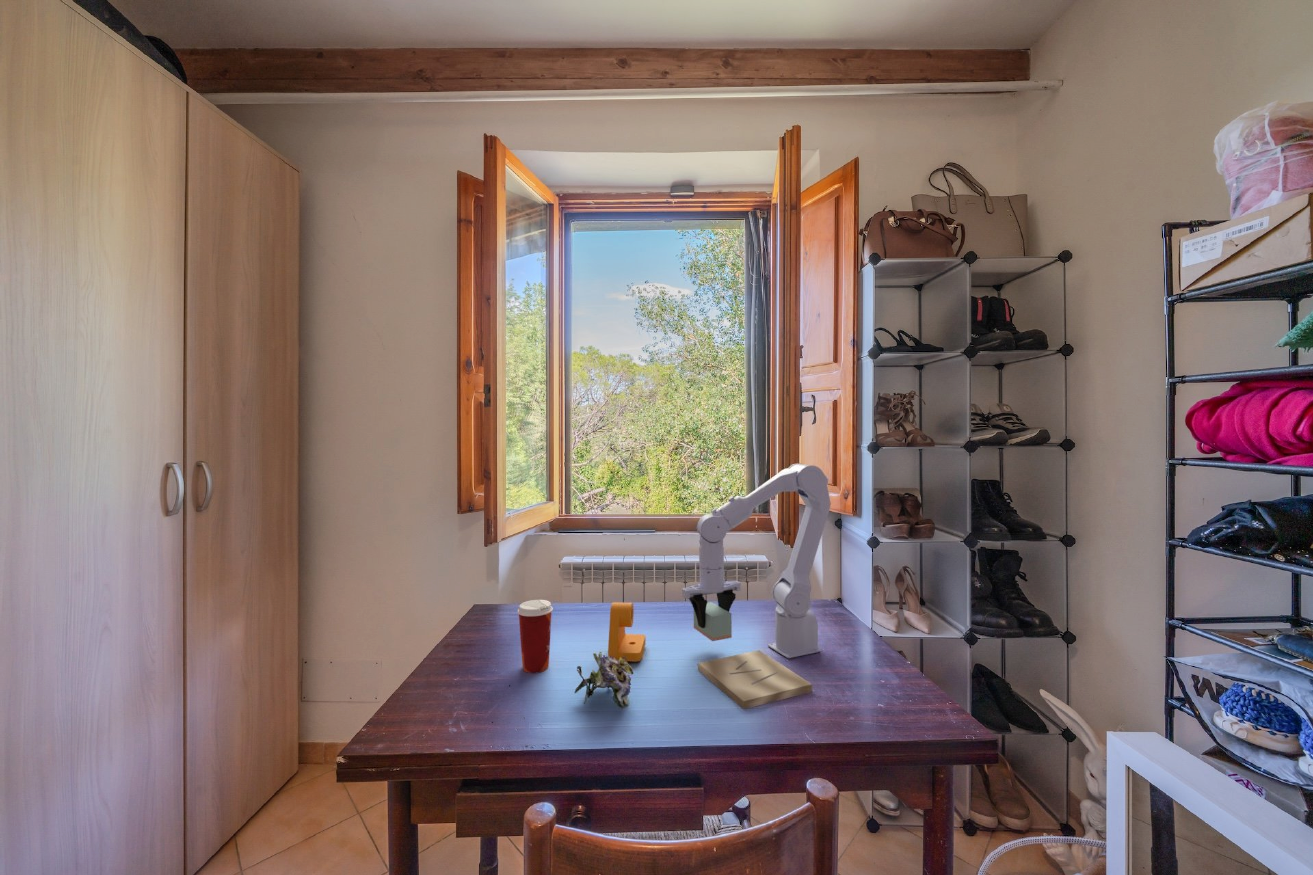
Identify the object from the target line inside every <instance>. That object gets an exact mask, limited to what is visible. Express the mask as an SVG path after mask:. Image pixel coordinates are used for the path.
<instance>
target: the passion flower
mask: <svg viewBox="0 0 1313 875" xmlns="http://www.w3.org/2000/svg"><path fill="white" fill-rule="evenodd" d="M602 653H603V651H599V652H598V654H597V653H596V652H593V654H592V655H593V658H594V661H595V662H596V664H597V666H598V670H597V672H596V670H594V669H593V670H592V671H590V675H589V677H588V678H584V677H583V675H582V666H581V665H578V666H576V671H577V673H578V674H579V676H580V678H582V681H581V682H580V683H579V684H578V686H577V687H576V688H575V690H574V694H577V693H578V692H579V691H580V690H581V689H582V688H584V687H585V686H586V687H585V688H586V690H585V696H584V701H583V705H585V704H586V702H587V700H588V699H589V698H590V697H591V696H593V694H594V692H595V690H597V689H598V688H599V689H608V690H609V688H611V690H612V693H613V694H612V701H613V703H614V704H615V705H617V706H618V707H620V708H621V709H623V708H624V706H626V707H628V706H629V704H630V701H629V698H628V696H629V695H630V693H631V685H632V683H631V681H632V678H631V675H634V671H633V667H632V666H631V665H630V664H629V663H628V661H626V658H625V656H623V659H622V658H620V659H619V661H617V660H616V659H615V658H611V655H610V656H608V655H605V654H602ZM608 657H609V658H608ZM630 674H631V675H630Z"/></svg>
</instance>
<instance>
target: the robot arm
mask: <svg viewBox="0 0 1313 875" xmlns="http://www.w3.org/2000/svg"><path fill="white" fill-rule="evenodd" d="M825 474H826V473H824V472H823V470H822V468H820V467H818V466H816V465H811V464H810V465H808V464H803V463H800V462H797V463H794V464H793V463H792V464H790V466H789V467H788V468H783V469H781V470H780V471H779V472H778V473H776V475H773V476H772V477H771V478H769V479H768V480H766V481H765V482H764V483H763V484H761V485H760V486H758V487H757V488H756V489H754V490H753V491H751V492H750V493H749V494H747V495H746V496H741V495H736V496H735V497H734V496H730V497H728V498H727V502H726V503H724V504H722V505H721V506H720V507H718V508H717V509H716V508H713V509H711V513H706V514H703V515H702V516H701V517H700V518H699V521H697V525H696V530H697V533H698V534H699V548H698V552H699V553H698V556H699V557H698V559H699V561H698V562H699V571H698V572H699V583H698V584H693V585H691V586H687V587H681V590H682V592H681V596H682V598H684V599H686V600H689V602H690V604H691V606H692V608H693V612H694V611H695V614H696V617H697V621H698V626H700V627H701V628H705V613H706V606H707V603H709V602H708V600H706V599H705V597H704V596H707V595H708V596H709V595H714V594H716V598H717V604H718V606H719V607H721V608H723V609H724V610H726V611H728V612H730V610H731V607H732V604H733V603H734V601H735V600H736V597H737V596H736V592H740V591H741V582H740V581H737V580H729V581H728V580H726V581H725V560H724V558H725V552H724V548H725V547H724V539H725V537H726V535H727V532H730V531H731V530H732V529H734V528H736V527H737V526H739V525H740V524H742V523H743V522H745V521H746V520H748V519H749V518H751V517H752V516H753V511H754V509H755V508H757V507H758V506H760V505H762V504H764V503H765V502H767V501H769V500H771V499H772V498H774V497H775V496H777V495H779V494H780V493H782V492H795V493H797V494H798V495H799V496H800V498H801V500H802V502H803V503H804V504H805V507H804V511H803V515H802V518H801V522H800V525H799V528H798V531H797V535H796V538H795V540H794V541H795V542H794V544H793V547H792V551H791V554H790V557H789V561H788V562H787V563H788V564H787V566H786V569H784V570H783V571H782V572H781V573H780V577H779V579H778V580H777V581H776V583H775V584H773V586H772V589H771V590H772V593H771V594H772V598H773V600H774V601H775V602H776V606H775V617H774V618H775V620H774V621H775V622H774V623H775V642H772V643H768V644H767V646H768V647H769V648H770V649H772V650H773V651H774V652H777V653H778V654H780V655H782V656H783V657H785V658H787V659H793V658H796V657H801V656H805V655H806V656H807V655H811V654H815V653H819V652H821V649H820V648H819V644H818V641H819V640H818V639H819V635H818V633H819V631H818V630H819V628H818V627H819V624H818V620H817V617H816V615H815V614H814V612H813V611H812V610H810V607H811V605H812V604H811V603H812V601H811V591H812V584H811V579H810V575H811V572H812V568H813V565H814V561H815V558H816V557H817V556H816V554H817V551H818V548H819V546H820V542H821V539H822V536H823V532H824V528H825V525H826V521H827V519H828V515H829V512H830V508H831V504H832V503H831V496H830V493H829V486H828V482H829V479H828V477H827V475H825ZM733 591H736V592H735V593H734V592H733Z"/></svg>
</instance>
